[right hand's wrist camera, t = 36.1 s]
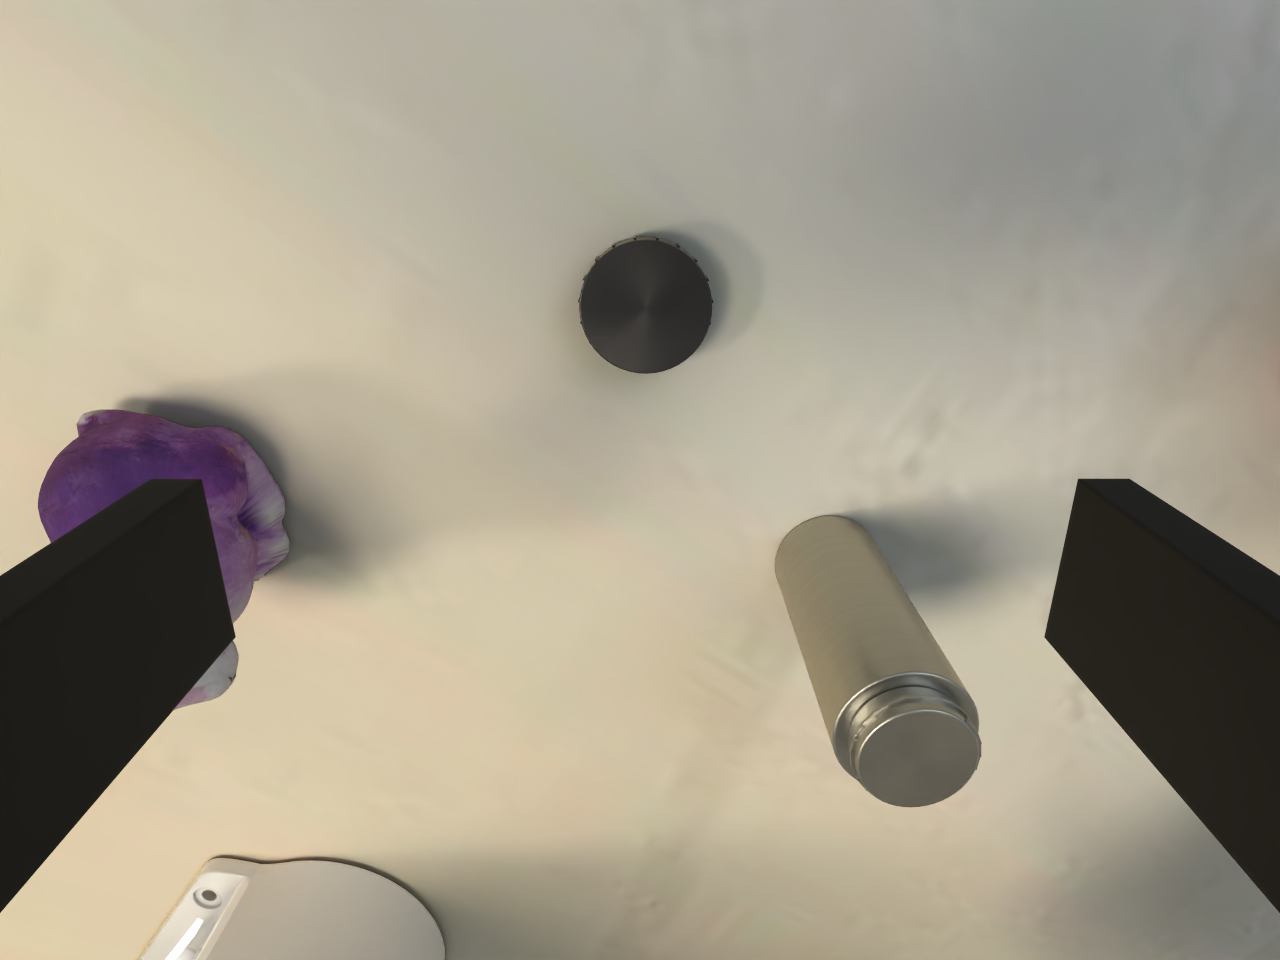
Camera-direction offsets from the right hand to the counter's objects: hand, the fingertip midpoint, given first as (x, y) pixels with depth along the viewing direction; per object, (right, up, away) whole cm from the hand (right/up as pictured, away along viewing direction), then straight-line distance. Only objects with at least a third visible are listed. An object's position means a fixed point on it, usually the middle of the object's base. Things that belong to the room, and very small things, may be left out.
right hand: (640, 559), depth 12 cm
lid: (0, +9, +23) cm, 24 cm away
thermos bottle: (+9, -3, +29) cm, 30 cm away
